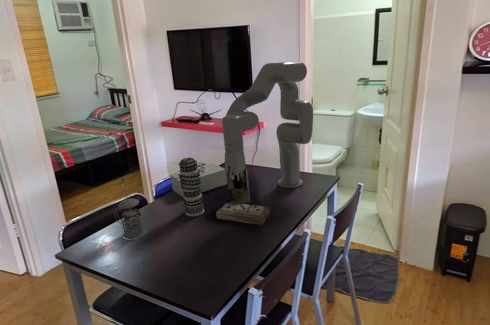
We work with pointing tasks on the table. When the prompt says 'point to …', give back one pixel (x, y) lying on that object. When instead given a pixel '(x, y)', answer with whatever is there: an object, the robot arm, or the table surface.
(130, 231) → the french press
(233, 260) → the table surface
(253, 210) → the tile two
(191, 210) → the decorative candle
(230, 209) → the tile one
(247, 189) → the coffee box
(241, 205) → the tile three
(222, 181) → the tissue box
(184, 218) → the table surface
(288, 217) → the table surface
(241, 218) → the wooden dot tile board
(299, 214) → the table surface
